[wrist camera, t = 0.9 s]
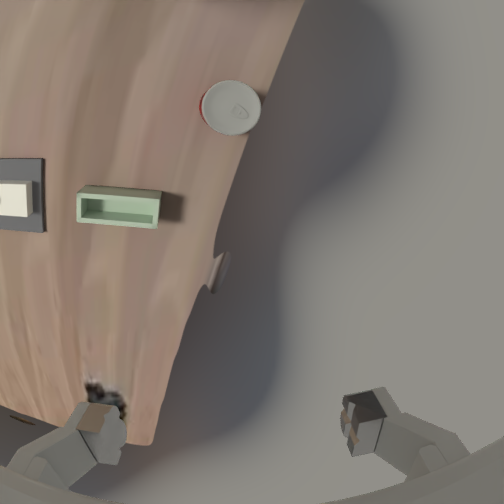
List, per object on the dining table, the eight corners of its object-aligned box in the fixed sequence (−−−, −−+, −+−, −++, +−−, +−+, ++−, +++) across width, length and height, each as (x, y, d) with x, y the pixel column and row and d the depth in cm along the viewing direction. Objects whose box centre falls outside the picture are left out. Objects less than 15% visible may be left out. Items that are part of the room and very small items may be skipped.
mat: (-33, 159, 38) (-35, 160, 37) (43, 158, 43) (41, 159, 43) (-28, 224, 44) (-30, 226, 43) (44, 231, 49) (42, 232, 48)
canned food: (240, 134, 49) (254, 141, 40) (193, 124, 47) (195, 129, 38) (252, 91, 46) (268, 88, 37) (205, 81, 44) (209, 74, 34)
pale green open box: (85, 185, 47) (76, 192, 43) (162, 191, 51) (159, 199, 47) (85, 211, 49) (76, 222, 45) (159, 218, 53) (157, 228, 49)
